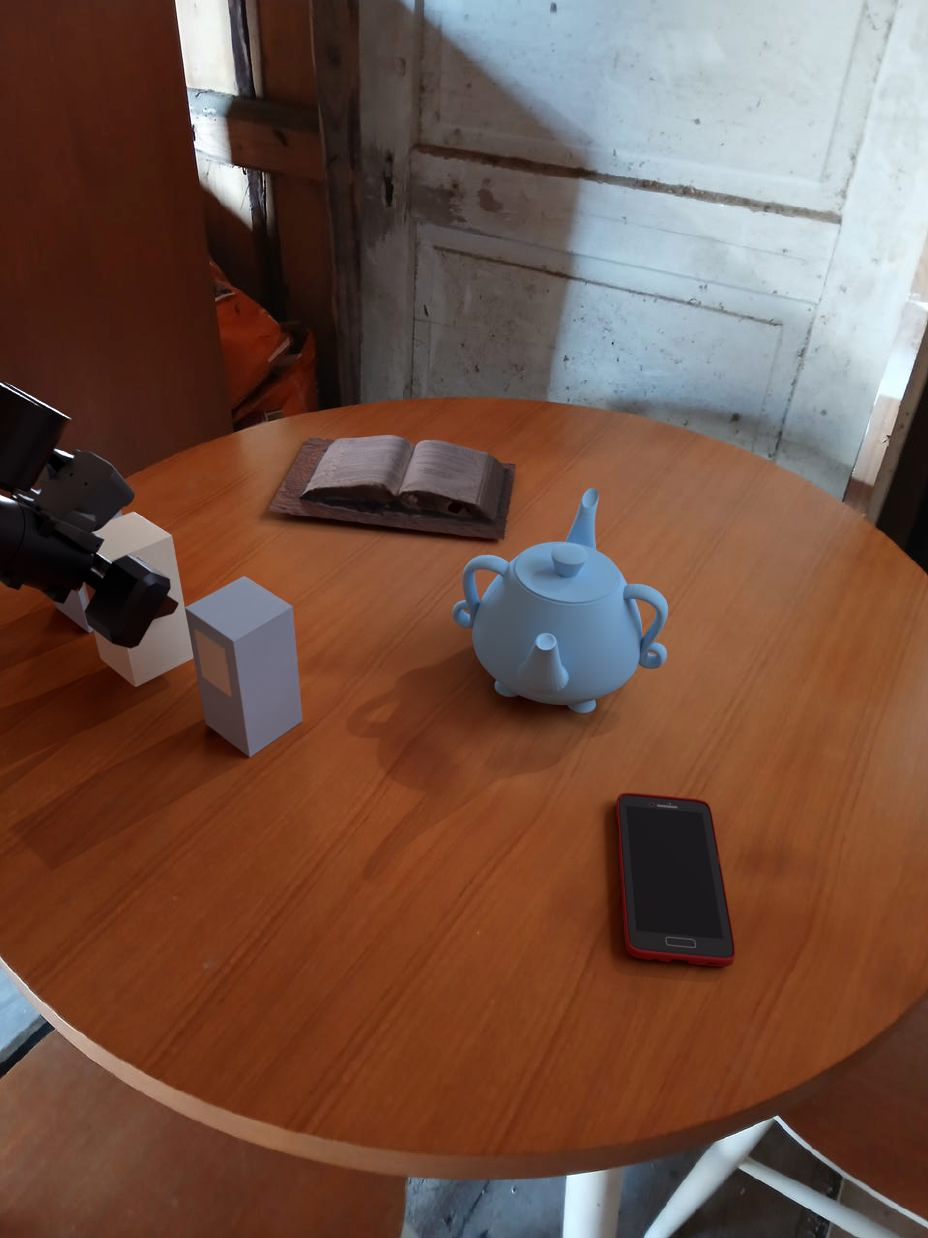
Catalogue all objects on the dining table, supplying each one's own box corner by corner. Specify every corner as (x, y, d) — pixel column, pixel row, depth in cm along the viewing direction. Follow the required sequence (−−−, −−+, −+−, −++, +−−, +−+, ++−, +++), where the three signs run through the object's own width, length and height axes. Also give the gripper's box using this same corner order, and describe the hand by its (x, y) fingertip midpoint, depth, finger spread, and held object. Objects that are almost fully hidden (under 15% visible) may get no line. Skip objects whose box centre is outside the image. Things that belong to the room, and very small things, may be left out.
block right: (247, 759, 77) (230, 642, 68) (203, 724, 79) (182, 608, 71) (302, 721, 80) (292, 606, 72) (258, 689, 83) (244, 575, 75)
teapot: (577, 598, 97) (595, 483, 88) (682, 718, 83) (716, 597, 74) (437, 632, 91) (442, 514, 82) (525, 768, 77) (542, 643, 69)
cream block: (133, 688, 80) (104, 562, 72) (98, 659, 83) (67, 535, 75) (193, 658, 83) (172, 535, 76) (157, 631, 87) (133, 511, 79)
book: (504, 546, 104) (508, 512, 101) (265, 516, 105) (264, 481, 103) (515, 472, 120) (519, 440, 118) (308, 446, 122) (308, 414, 119)
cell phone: (625, 959, 64) (627, 952, 63) (614, 798, 75) (616, 790, 75) (735, 970, 63) (738, 962, 63) (707, 806, 75) (710, 799, 74)
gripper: (125, 486, 62) (265, 553, 76) (-14, 399, 71) (133, 474, 84) (46, 628, 62) (199, 669, 76) (-84, 523, 71) (75, 577, 84)
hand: (151, 590), depth 80 cm, fingers closed on cream block, 7 cm apart
